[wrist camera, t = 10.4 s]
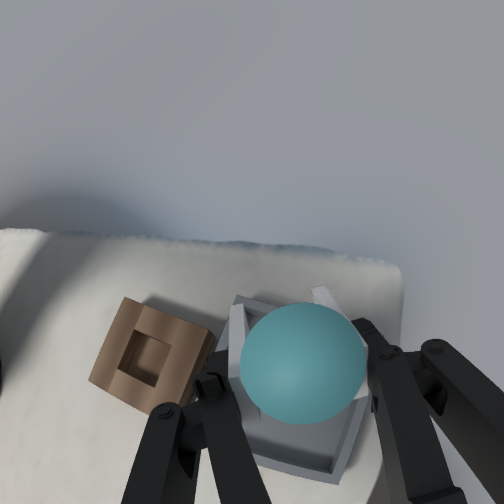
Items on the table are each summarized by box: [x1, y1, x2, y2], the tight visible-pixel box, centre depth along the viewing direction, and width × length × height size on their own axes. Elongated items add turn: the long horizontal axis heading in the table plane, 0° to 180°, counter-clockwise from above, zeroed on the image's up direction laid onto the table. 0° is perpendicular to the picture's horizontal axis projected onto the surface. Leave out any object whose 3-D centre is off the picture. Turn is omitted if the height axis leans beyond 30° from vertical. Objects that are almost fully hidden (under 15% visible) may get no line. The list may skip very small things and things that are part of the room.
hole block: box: [88, 297, 215, 415], centre depth 32 cm, size 11×11×4 cm
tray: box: [195, 295, 384, 485], centre depth 29 cm, size 16×16×4 cm
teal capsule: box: [240, 303, 366, 425], centre depth 14 cm, size 4×4×12 cm
